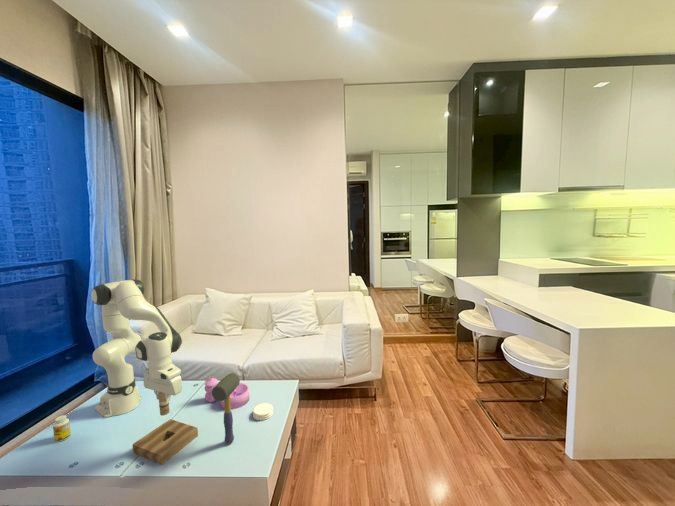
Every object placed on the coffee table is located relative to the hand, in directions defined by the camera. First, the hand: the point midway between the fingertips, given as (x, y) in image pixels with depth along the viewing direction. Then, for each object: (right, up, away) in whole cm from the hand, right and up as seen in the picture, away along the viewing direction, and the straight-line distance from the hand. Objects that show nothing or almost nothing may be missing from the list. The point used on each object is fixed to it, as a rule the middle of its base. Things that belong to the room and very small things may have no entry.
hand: (163, 400), depth 130 cm
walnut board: (0, -21, +2) cm, 21 cm away
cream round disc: (+39, -19, +21) cm, 48 cm away
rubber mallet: (+29, -20, +2) cm, 35 cm away
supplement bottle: (-52, -22, +7) cm, 56 cm away
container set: (+15, -18, +35) cm, 42 cm away
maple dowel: (0, -6, +1) cm, 6 cm away
